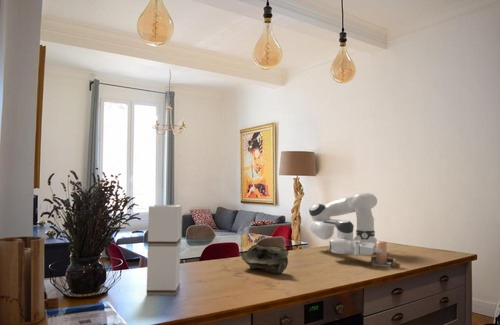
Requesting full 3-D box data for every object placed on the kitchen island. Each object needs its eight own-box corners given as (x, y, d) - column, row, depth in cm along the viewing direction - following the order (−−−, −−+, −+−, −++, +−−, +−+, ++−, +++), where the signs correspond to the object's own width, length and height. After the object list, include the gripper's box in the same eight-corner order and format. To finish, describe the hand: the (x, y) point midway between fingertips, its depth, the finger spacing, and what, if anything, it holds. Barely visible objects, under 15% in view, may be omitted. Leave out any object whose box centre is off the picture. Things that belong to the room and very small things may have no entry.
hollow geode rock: (287, 286, 180) (302, 260, 187) (275, 270, 174) (290, 244, 181) (249, 273, 201) (263, 251, 208) (236, 259, 195) (252, 236, 202)
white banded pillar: (179, 287, 158) (181, 205, 160) (175, 295, 147) (177, 206, 149) (152, 287, 157) (154, 204, 159) (146, 295, 147) (148, 206, 149)
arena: (371, 260, 218) (371, 256, 218) (396, 262, 213) (396, 258, 213) (369, 265, 206) (369, 260, 206) (395, 267, 201) (395, 263, 201)
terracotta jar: (376, 262, 213) (376, 240, 213) (386, 262, 211) (386, 241, 211) (376, 263, 208) (375, 242, 208) (386, 264, 205) (386, 242, 206)
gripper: (359, 250, 224) (383, 251, 219) (355, 256, 205) (382, 258, 200) (359, 239, 224) (383, 241, 219) (355, 244, 205) (381, 246, 200)
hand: (382, 249), depth 209 cm, fingers open, 8 cm apart
